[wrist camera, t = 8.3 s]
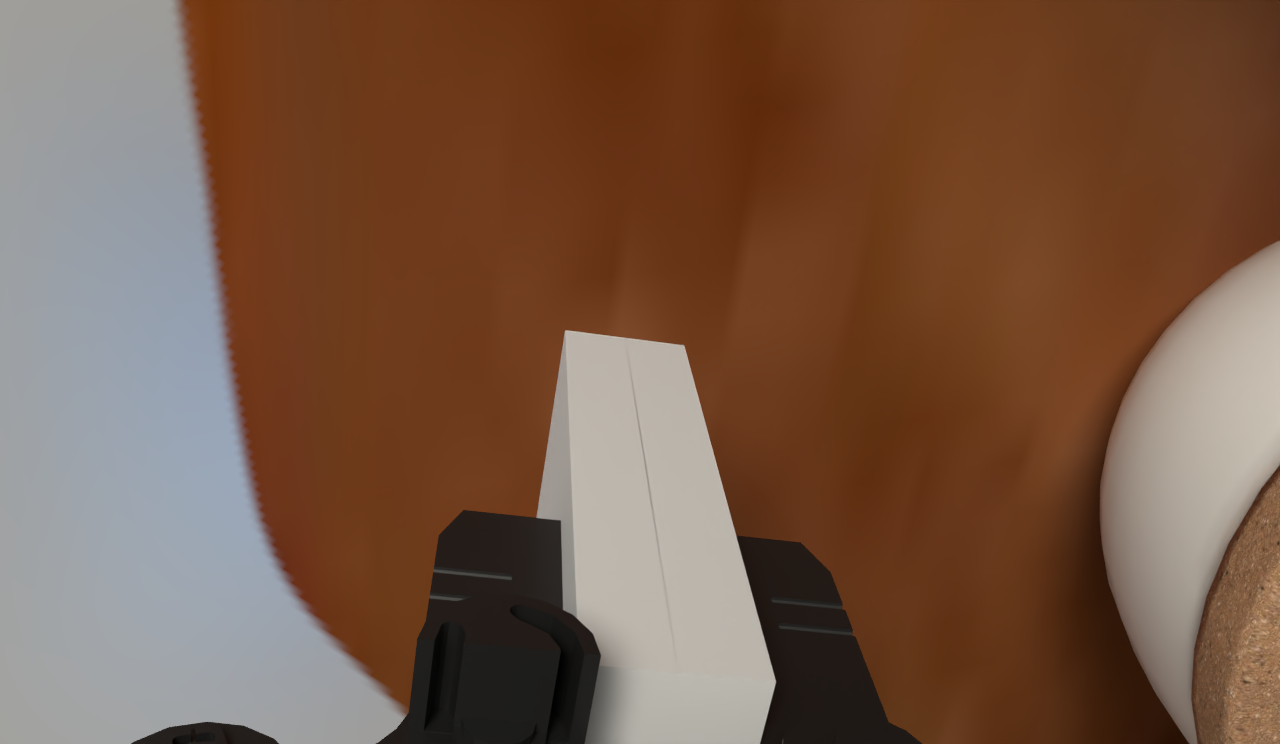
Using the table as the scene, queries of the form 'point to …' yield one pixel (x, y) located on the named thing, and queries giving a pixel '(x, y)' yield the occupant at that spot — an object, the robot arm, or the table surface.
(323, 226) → the table surface
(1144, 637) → the lidded jar
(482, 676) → the robot arm
